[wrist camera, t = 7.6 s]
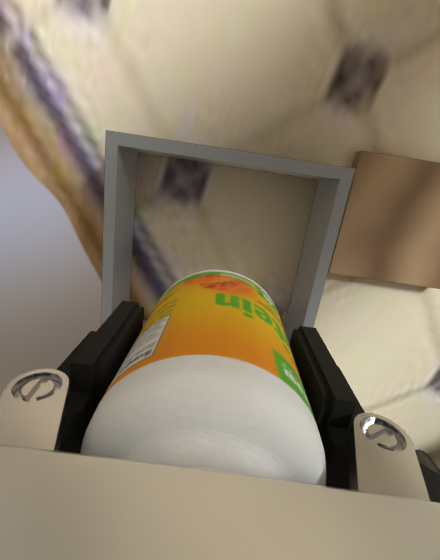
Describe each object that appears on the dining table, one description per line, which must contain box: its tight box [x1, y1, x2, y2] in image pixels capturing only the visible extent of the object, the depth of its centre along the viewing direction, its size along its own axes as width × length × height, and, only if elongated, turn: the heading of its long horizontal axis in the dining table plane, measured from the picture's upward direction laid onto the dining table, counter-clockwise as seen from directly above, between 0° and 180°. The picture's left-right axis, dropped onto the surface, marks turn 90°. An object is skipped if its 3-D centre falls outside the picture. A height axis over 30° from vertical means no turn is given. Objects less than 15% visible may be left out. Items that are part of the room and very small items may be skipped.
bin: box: [101, 130, 355, 343], centre depth 25 cm, size 17×17×5 cm
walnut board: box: [328, 151, 440, 289], centre depth 26 cm, size 10×10×1 cm
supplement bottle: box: [80, 270, 326, 486], centre depth 9 cm, size 5×5×10 cm
